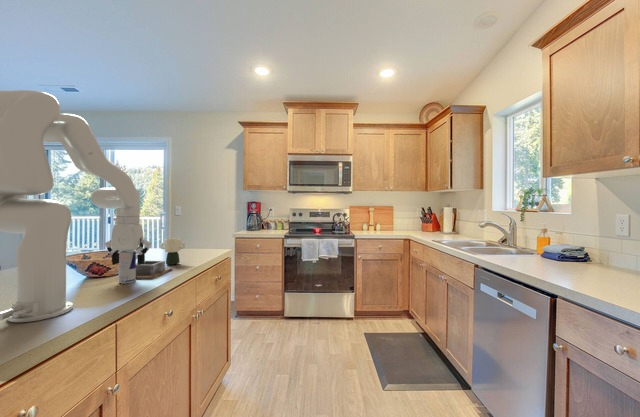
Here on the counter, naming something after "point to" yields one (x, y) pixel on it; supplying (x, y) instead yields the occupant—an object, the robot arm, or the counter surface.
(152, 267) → the can holder
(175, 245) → the character mug
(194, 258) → the counter surface
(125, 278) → the energy drink
